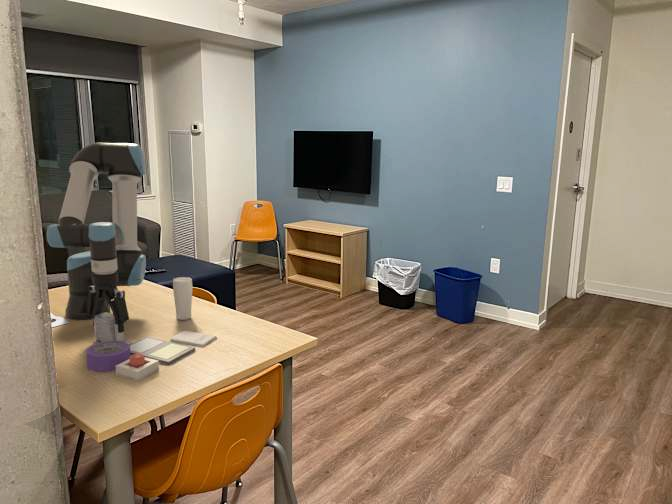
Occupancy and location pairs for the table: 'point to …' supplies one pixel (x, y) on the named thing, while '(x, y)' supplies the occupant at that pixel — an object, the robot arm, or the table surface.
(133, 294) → the table surface
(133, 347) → the picture board
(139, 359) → the button
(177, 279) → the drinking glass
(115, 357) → the tape roll
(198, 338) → the external hard drive
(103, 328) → the medicine box
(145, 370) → the button housing
